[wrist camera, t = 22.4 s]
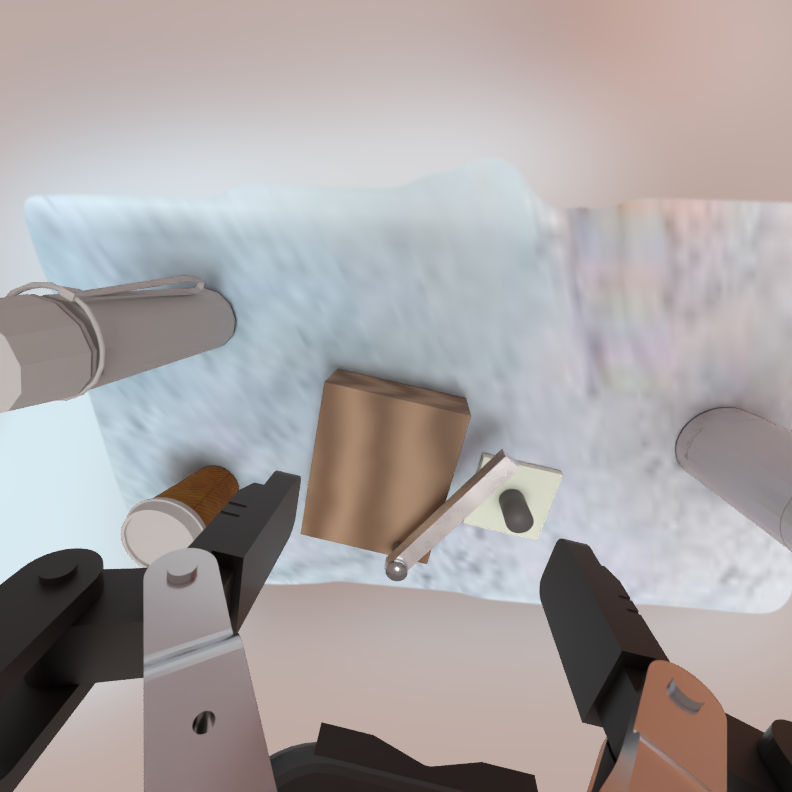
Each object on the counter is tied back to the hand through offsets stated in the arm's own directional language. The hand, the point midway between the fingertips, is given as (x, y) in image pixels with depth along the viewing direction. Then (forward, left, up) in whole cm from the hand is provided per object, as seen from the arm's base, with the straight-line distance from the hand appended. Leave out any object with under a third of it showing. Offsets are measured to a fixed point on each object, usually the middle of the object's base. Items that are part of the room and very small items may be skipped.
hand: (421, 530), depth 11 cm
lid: (-15, +17, -35) cm, 41 cm away
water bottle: (+26, +2, -34) cm, 43 cm away
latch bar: (-6, +17, -26) cm, 32 cm away
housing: (+2, +16, -34) cm, 38 cm away
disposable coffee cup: (+24, +26, -34) cm, 49 cm away
